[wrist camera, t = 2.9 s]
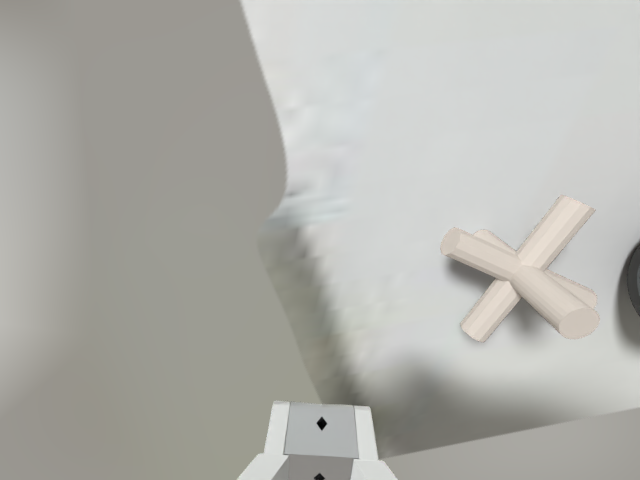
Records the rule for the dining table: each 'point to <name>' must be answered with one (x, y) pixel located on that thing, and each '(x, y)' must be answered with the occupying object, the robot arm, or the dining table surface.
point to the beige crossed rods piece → (527, 274)
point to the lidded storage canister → (634, 280)
